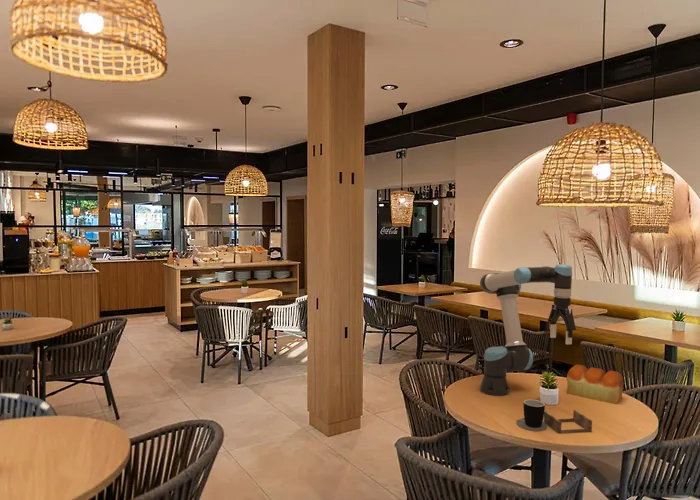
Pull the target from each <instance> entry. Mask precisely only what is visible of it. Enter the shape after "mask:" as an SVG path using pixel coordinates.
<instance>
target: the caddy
mask: <svg viewBox="0 0 700 500" xmlns="http://www.w3.org/2000/svg"><path fill="white" fill-rule="evenodd" d="M572 413H573V414H572V415H573V417H572V418H556V417H555V416H554V415H552V414H551V413H549V412H548V411H544V418H543V422H544V423H546V425H547V427H550V428H551V429H552V430H554V431H555V432H556V433H558V434H576V433H591V432H593V431H592V430H593V420H592V419H590V418H589V417H587V416H586V415H584V414H582V413H580V412H579V411H577V410H576V409H574V410H573V412H572ZM568 422H569V423H570V422H572V423H573V422H574V423H576V424H577V425H578V426H580V427H582V428H574V429H573V428H572V429H571V428H570V429H562V423H568Z"/></svg>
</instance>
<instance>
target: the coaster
mask: <svg viewBox="0 0 700 500" xmlns="http://www.w3.org/2000/svg"><path fill="white" fill-rule="evenodd" d="M515 424H516V425H517V426H518V427H520V428H521V429H525V430H528V431H534V432H540V431H544V430H547V428H548V425H547V424H546V423H544V421H543V422H542V425H541V427H538V428H533V427H529V426H527V425H526V423H525V419H524V417H523V418H519V419H516V423H515Z"/></svg>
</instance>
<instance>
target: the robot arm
mask: <svg viewBox="0 0 700 500" xmlns="http://www.w3.org/2000/svg"><path fill="white" fill-rule="evenodd" d="M572 280H573V267H572V266H571V265H570V264H561V263H559V264H555V266H554V267H551V266H547V265H546V266H545V265H544V266H534V267H531V266H530V267H529V266H528V267H525V266H522V267H517V268H516V269H513V270H509V271H504V272H498V273H497V272H496V273H495V272H492V273H491V272H490V273H487V274H484V275H483V276H481V278H480V280H479V286H480V288H481V290H482V291H483V292H484V293H486V294H489V295H496V298H497V299H498V300H499V302H500V307H501V314H502V320H503V327H504V334H505V340H506V344H505V345H504V346H496V345H495V346H491V347H488V348H486V350H485V351H484V355H483V359H484V360H483V366H484V367H483V377H482V380H481V382H480V386H479V387H480V388H479V390H480V392H481V393H483V392H484V394H486V395H491V396H507V395H509V393H510V387H509V383H508V380H507V379H508V378H507V373H508V372H516V371H517V372H518V371H526V370H529V369H531V367H532V365H533V362H534V354H533V352H532V351H531V349H530V348H528V346H527V344H526V343H525V342H524V339H523V334H522V328H521V322H520V316H519V310H518V304H517V303H518V302H517V297H519V293H520V291H521V288H522V285H524V284H531V283H550V284H554V285H553V286H554V289H553V294H554V297H553V304H551V310H550V313H549V316H548V319H547V323H549V324H550V330H549V331H550V332H549V334H550V335H549V338H551V339H553V338H554V339H556V338H557V323H558V322H557V321H558V320H559V319H560V317H561V319H563V323H564V324H565V327H566V330H565V345H572V344H573V332H574V331H576V330H577V328H576V323H575V319H574V315H573V309H571V308H570V309H569V307H570V306H571V304H572V303H571V302H572V301H571V300H572V299H571V298H572V297H571V296H572V284H573V283H572Z"/></svg>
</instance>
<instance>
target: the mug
mask: <svg viewBox="0 0 700 500" xmlns="http://www.w3.org/2000/svg"><path fill="white" fill-rule="evenodd" d="M545 405H546V404H545V403H544V402H543V401H542V400H537V399H525V400H524V401H523V418H524V419H525V423H526V425H527V426H529V427H533V428H538V427H541V425H542V422H544V412H546V411H545V410H546V409H545V408H546V407H545Z"/></svg>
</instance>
